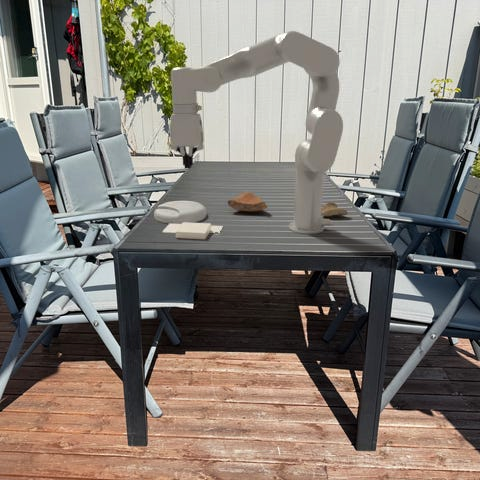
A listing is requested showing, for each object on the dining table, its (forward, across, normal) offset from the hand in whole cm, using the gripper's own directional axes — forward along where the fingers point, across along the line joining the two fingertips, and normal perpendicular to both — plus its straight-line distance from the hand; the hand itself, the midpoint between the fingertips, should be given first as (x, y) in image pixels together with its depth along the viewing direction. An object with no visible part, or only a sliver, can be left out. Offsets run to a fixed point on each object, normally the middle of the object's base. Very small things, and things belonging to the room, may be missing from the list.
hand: (188, 167), depth 149 cm
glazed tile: (+22, -6, 0) cm, 23 cm away
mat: (+24, +1, 0) cm, 24 cm away
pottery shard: (+24, -51, -28) cm, 63 cm away
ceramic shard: (+23, -24, -32) cm, 46 cm away
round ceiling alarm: (+26, +10, -22) cm, 35 cm away
